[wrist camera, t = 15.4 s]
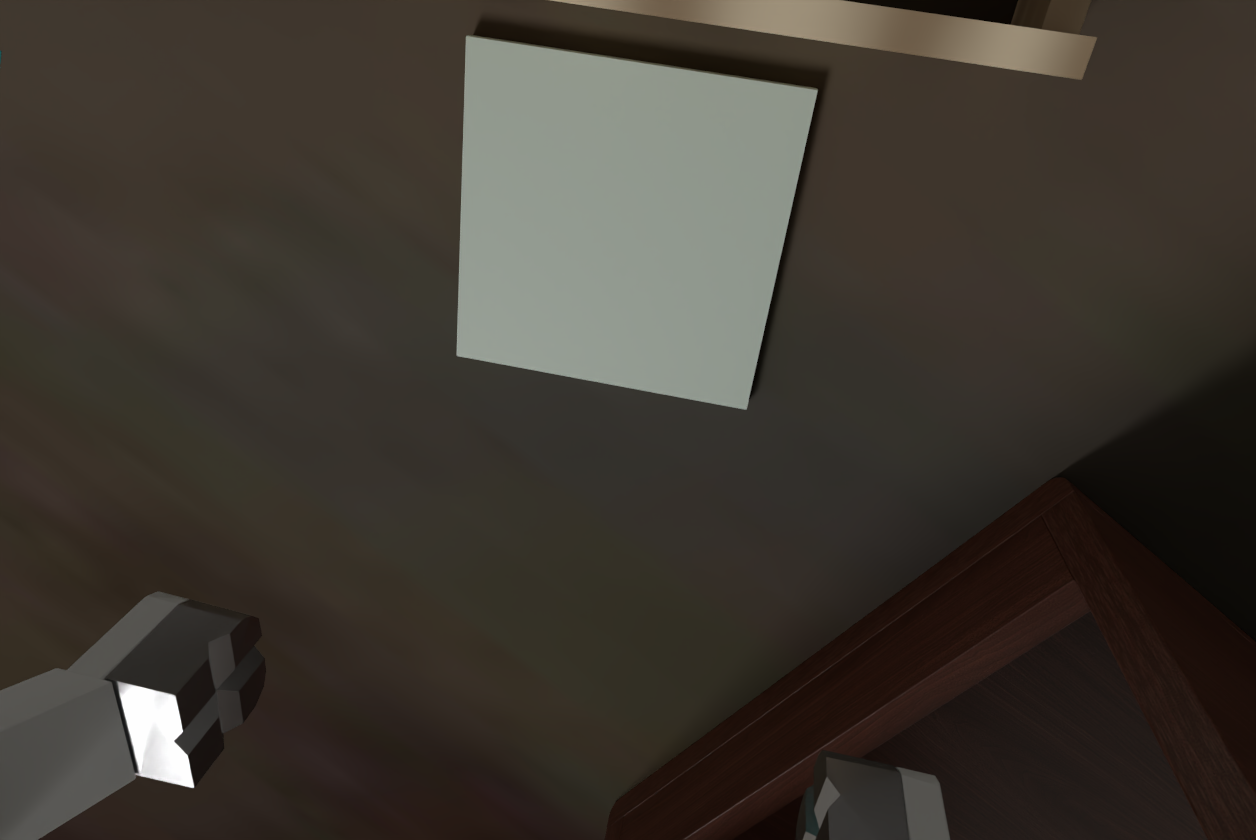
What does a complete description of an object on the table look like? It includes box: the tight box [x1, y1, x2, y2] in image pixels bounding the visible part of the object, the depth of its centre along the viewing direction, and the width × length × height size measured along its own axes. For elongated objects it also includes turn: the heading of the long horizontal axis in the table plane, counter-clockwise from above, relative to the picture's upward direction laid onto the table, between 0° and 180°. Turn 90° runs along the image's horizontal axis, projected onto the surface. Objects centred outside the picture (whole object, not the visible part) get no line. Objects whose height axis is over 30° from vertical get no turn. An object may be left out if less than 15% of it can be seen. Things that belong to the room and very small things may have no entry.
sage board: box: [457, 35, 818, 410], centre depth 36 cm, size 14×14×1 cm
